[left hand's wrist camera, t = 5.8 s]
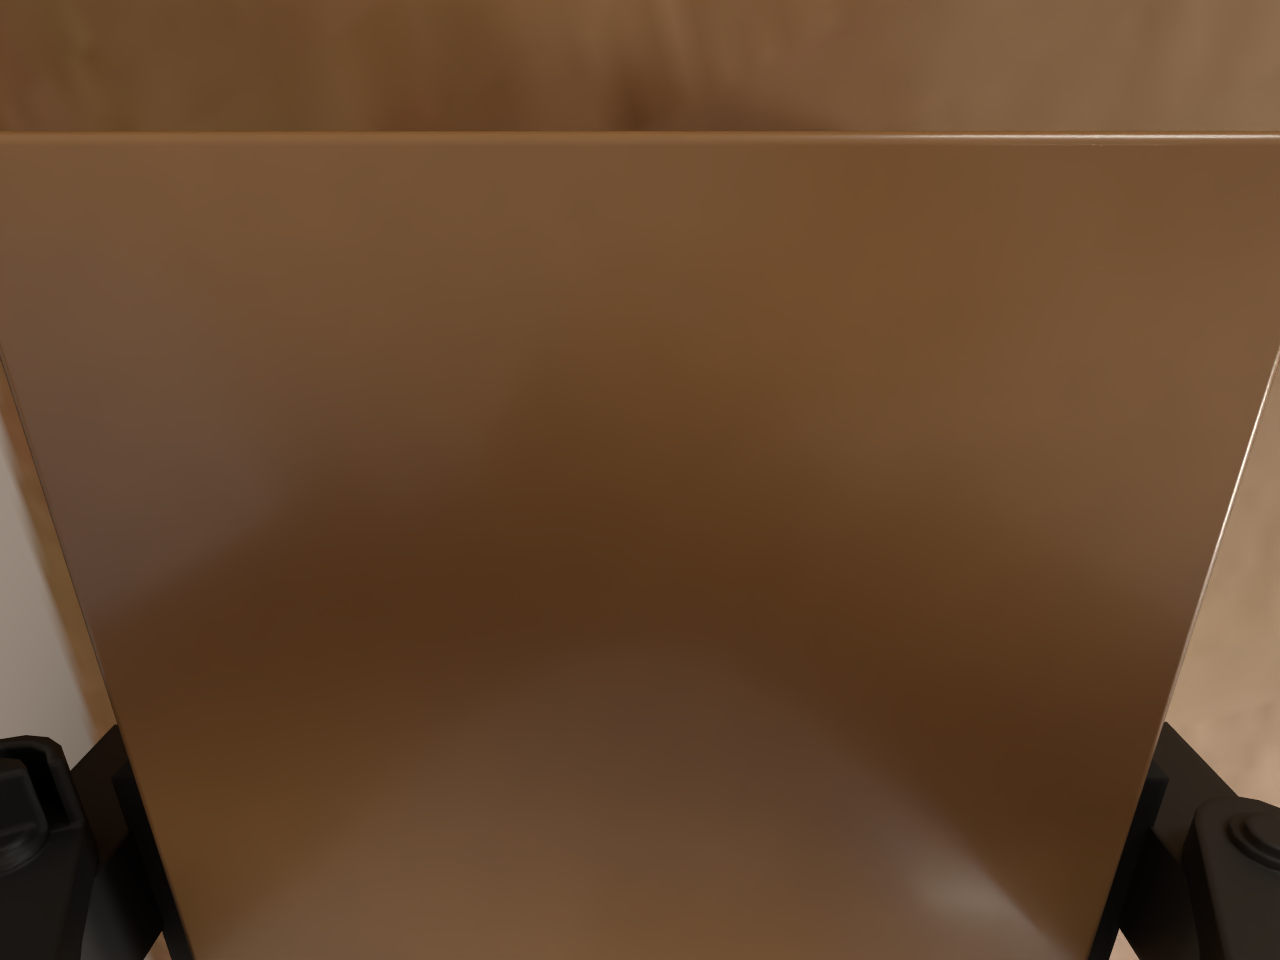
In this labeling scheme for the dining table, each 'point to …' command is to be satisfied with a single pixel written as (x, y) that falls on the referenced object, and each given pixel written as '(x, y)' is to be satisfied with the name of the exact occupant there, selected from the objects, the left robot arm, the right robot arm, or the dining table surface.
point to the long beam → (640, 519)
